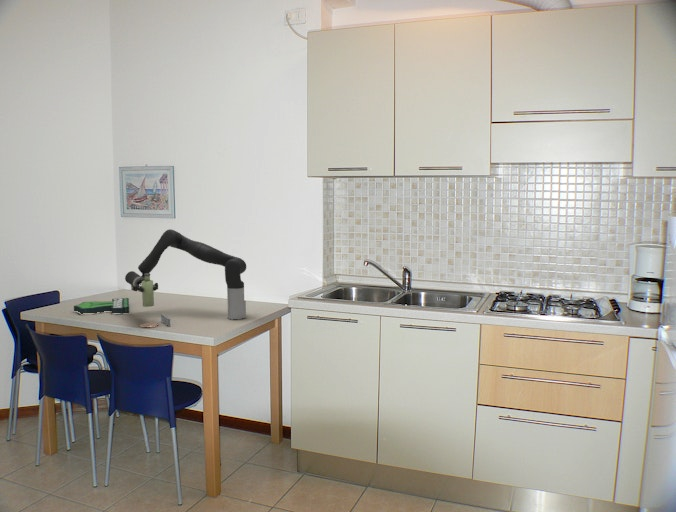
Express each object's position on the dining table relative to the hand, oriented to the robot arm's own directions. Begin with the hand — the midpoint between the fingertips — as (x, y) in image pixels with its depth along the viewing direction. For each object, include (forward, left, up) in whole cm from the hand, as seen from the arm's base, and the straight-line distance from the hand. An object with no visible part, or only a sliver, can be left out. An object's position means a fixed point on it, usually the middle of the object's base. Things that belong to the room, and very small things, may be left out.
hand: (148, 289), depth 292 cm
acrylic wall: (-9, -2, -20) cm, 22 cm away
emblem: (+14, -55, -21) cm, 61 cm away
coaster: (0, -2, -20) cm, 20 cm away
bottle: (0, -3, -9) cm, 9 cm away
